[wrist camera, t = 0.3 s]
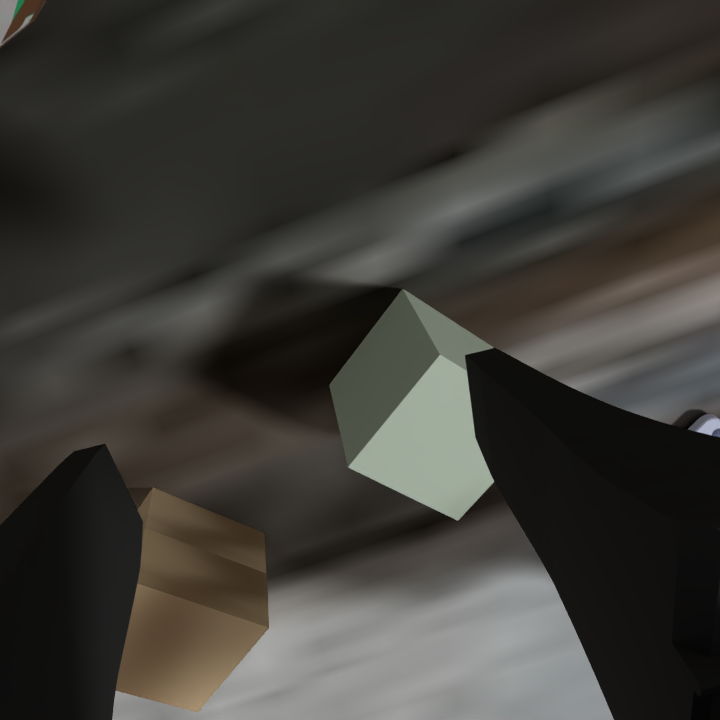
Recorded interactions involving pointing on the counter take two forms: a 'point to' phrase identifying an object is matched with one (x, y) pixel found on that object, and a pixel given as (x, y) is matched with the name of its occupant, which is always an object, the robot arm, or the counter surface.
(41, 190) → the counter surface
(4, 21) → the food container
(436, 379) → the sage block
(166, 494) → the slab lower
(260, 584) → the slab upper
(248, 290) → the counter surface
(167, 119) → the counter surface
